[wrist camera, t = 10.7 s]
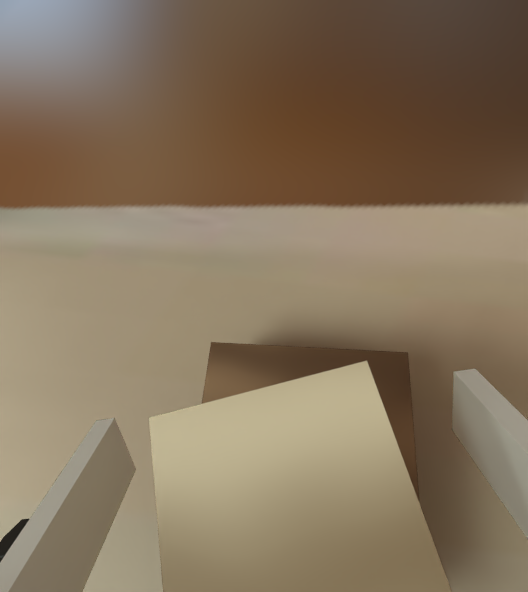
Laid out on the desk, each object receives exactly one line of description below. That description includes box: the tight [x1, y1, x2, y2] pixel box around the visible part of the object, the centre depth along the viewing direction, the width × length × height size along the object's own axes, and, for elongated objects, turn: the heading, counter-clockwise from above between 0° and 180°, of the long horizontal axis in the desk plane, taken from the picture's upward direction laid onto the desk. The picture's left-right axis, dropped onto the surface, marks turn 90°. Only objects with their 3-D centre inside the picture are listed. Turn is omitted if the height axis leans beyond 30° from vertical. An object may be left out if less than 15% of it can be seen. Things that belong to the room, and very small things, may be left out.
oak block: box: [149, 361, 452, 592], centre depth 13 cm, size 6×6×12 cm
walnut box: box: [202, 342, 419, 501], centre depth 21 cm, size 14×12×6 cm
